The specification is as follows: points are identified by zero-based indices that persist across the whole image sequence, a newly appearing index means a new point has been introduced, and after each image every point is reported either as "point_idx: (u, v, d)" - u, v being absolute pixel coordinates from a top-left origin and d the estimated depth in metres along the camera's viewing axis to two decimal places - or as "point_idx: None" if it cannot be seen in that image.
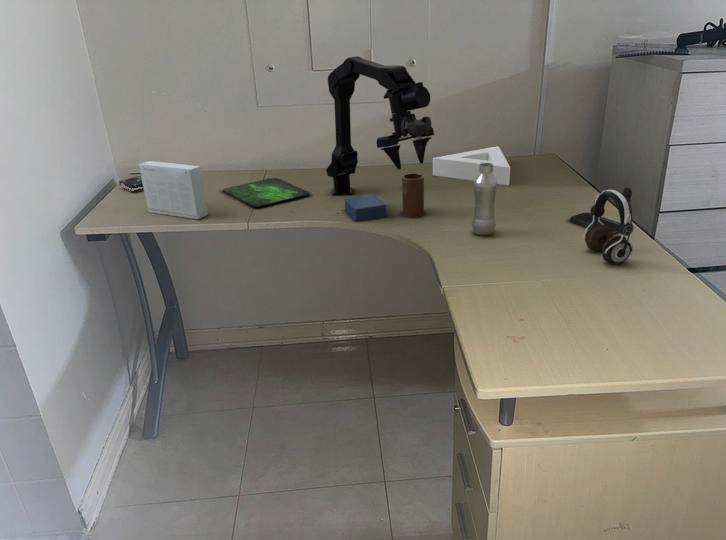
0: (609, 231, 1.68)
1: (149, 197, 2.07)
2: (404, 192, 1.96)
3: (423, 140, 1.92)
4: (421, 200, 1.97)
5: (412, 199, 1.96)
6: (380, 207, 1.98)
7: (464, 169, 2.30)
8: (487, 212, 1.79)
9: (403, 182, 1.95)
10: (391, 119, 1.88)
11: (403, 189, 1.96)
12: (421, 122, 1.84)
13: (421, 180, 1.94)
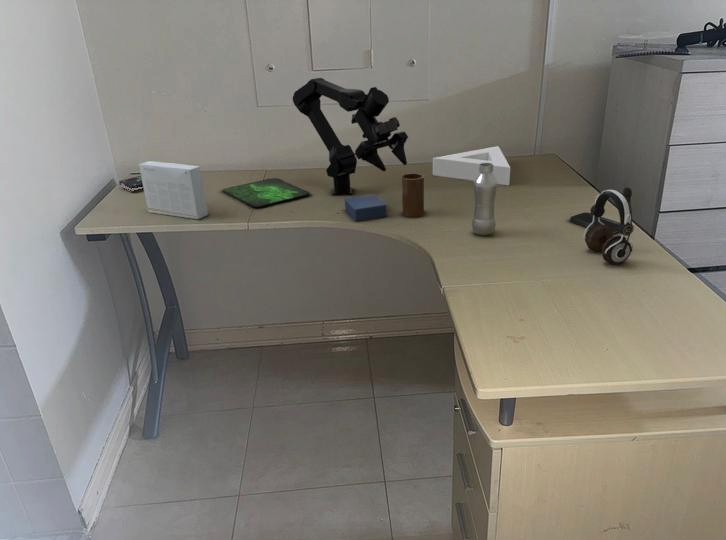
0: (609, 231, 1.68)
1: (149, 197, 2.07)
2: (404, 192, 1.96)
3: (399, 143, 2.01)
4: (421, 200, 1.97)
5: (412, 199, 1.96)
6: (380, 207, 1.98)
7: (464, 169, 2.30)
8: (487, 212, 1.79)
9: (403, 182, 1.95)
10: (363, 135, 2.01)
11: (403, 189, 1.96)
12: None
13: (421, 180, 1.94)
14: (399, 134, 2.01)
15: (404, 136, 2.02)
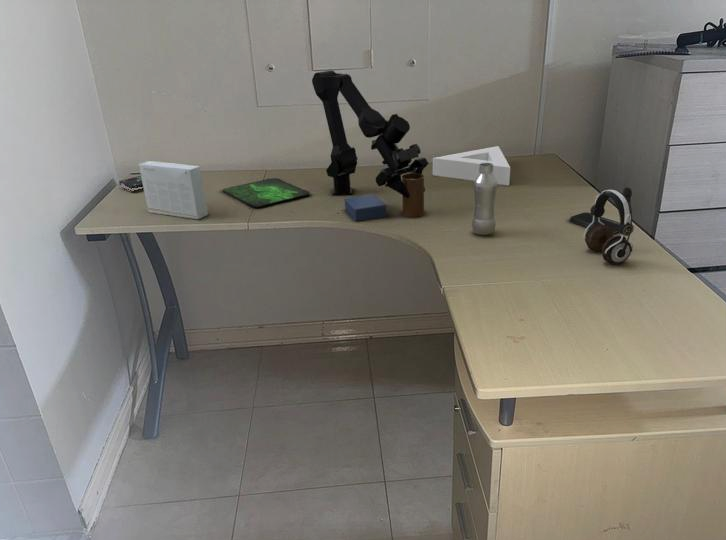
0: (609, 231, 1.68)
1: (149, 197, 2.07)
2: None
3: (417, 170, 1.98)
4: (421, 200, 1.97)
5: (412, 199, 1.96)
6: (380, 207, 1.98)
7: (464, 169, 2.30)
8: (487, 212, 1.79)
9: (403, 182, 1.95)
10: (383, 161, 1.99)
11: None
12: None
13: (421, 180, 1.94)
14: (419, 160, 1.99)
15: (424, 162, 2.00)
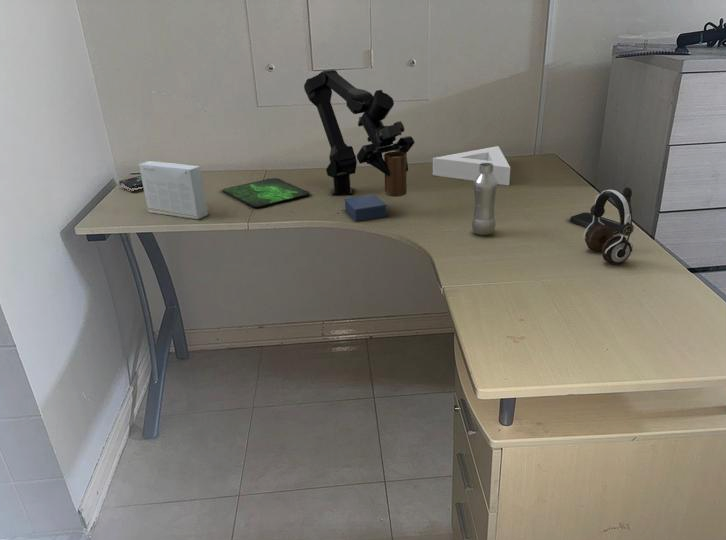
0: (609, 231, 1.68)
1: (149, 197, 2.07)
2: None
3: (401, 148, 1.95)
4: (403, 179, 1.93)
5: (393, 178, 1.92)
6: (380, 207, 1.98)
7: (464, 169, 2.30)
8: (487, 212, 1.79)
9: (385, 160, 1.92)
10: (368, 138, 1.96)
11: None
12: None
13: (402, 158, 1.90)
14: (405, 139, 1.95)
15: (410, 141, 1.96)
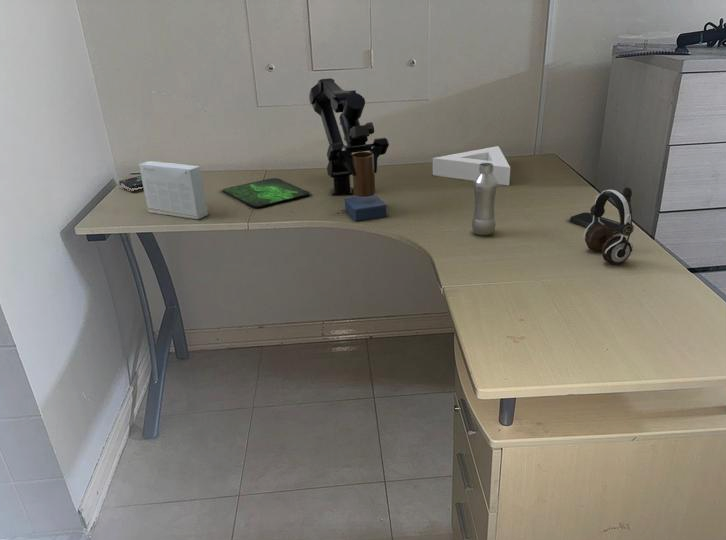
0: (609, 231, 1.68)
1: (149, 197, 2.07)
2: None
3: (373, 150, 1.96)
4: (368, 180, 1.94)
5: (358, 178, 1.94)
6: (380, 207, 1.98)
7: (464, 169, 2.30)
8: (487, 212, 1.79)
9: (352, 159, 1.94)
10: (344, 137, 1.99)
11: None
12: None
13: (367, 159, 1.91)
14: (378, 140, 1.96)
15: (383, 143, 1.96)
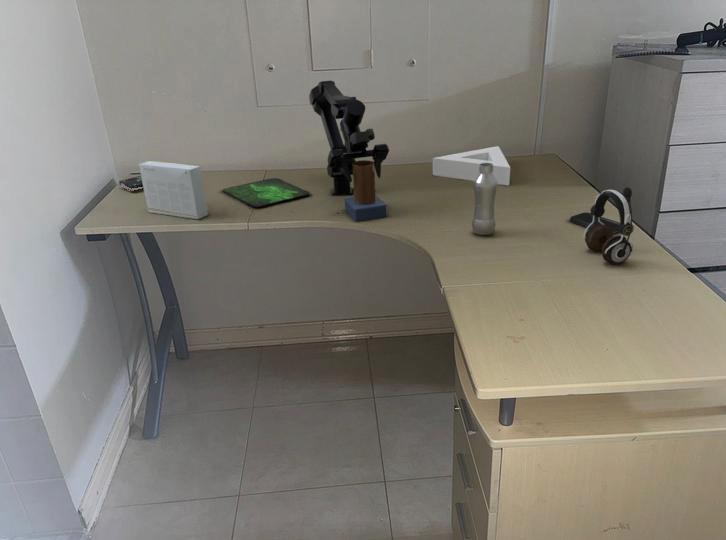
0: (609, 231, 1.68)
1: (149, 197, 2.07)
2: (353, 178, 1.97)
3: (376, 155, 1.97)
4: (368, 188, 1.96)
5: (358, 186, 1.95)
6: (380, 207, 1.98)
7: (464, 169, 2.30)
8: (487, 212, 1.79)
9: None
10: (344, 143, 2.00)
11: (353, 175, 1.97)
12: None
13: (367, 168, 1.93)
14: (378, 146, 1.97)
15: (383, 149, 1.97)
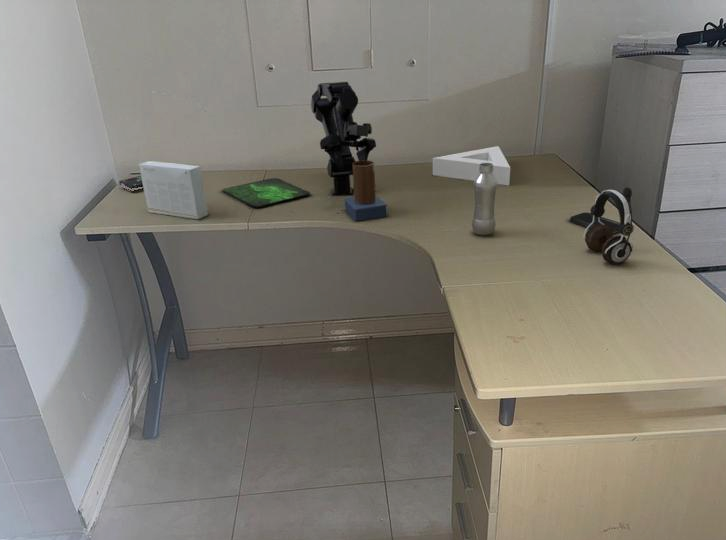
0: (609, 231, 1.68)
1: (149, 197, 2.07)
2: (353, 178, 1.97)
3: (365, 149, 2.04)
4: (368, 188, 1.96)
5: (358, 186, 1.95)
6: (380, 207, 1.98)
7: (464, 169, 2.30)
8: (487, 212, 1.79)
9: None
10: (335, 127, 2.02)
11: (353, 175, 1.97)
12: None
13: (367, 168, 1.93)
14: (368, 140, 2.04)
15: (372, 144, 2.05)
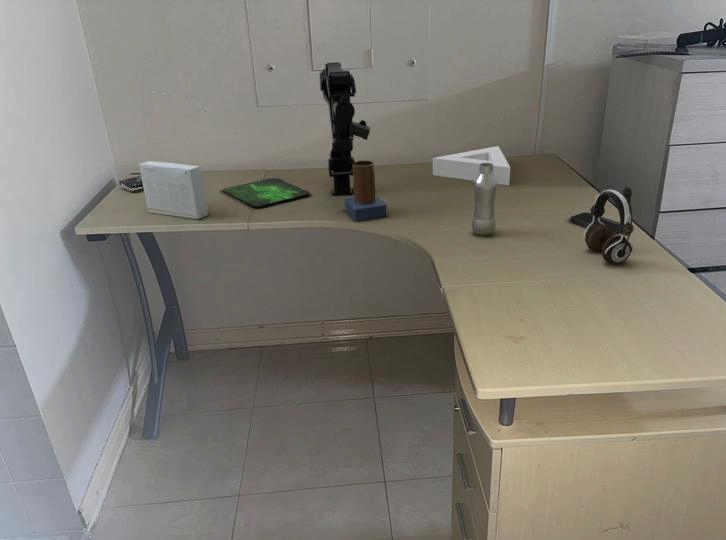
0: (609, 231, 1.68)
1: (149, 197, 2.07)
2: (353, 178, 1.97)
3: None
4: (368, 188, 1.96)
5: (358, 186, 1.95)
6: (380, 207, 1.98)
7: (464, 169, 2.30)
8: (487, 212, 1.79)
9: None
10: (335, 121, 1.95)
11: (353, 175, 1.97)
12: (364, 126, 1.99)
13: (367, 168, 1.93)
14: None
15: (353, 135, 2.07)
